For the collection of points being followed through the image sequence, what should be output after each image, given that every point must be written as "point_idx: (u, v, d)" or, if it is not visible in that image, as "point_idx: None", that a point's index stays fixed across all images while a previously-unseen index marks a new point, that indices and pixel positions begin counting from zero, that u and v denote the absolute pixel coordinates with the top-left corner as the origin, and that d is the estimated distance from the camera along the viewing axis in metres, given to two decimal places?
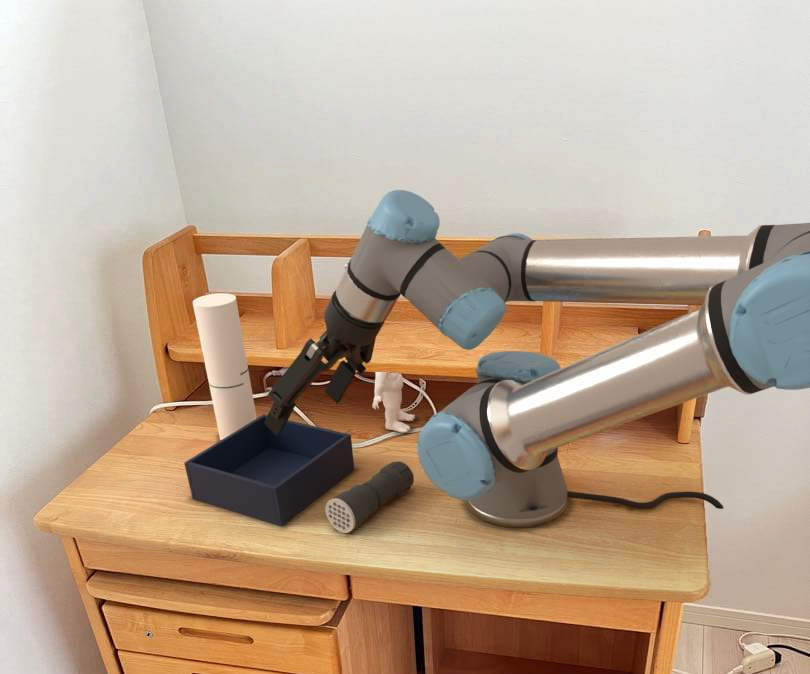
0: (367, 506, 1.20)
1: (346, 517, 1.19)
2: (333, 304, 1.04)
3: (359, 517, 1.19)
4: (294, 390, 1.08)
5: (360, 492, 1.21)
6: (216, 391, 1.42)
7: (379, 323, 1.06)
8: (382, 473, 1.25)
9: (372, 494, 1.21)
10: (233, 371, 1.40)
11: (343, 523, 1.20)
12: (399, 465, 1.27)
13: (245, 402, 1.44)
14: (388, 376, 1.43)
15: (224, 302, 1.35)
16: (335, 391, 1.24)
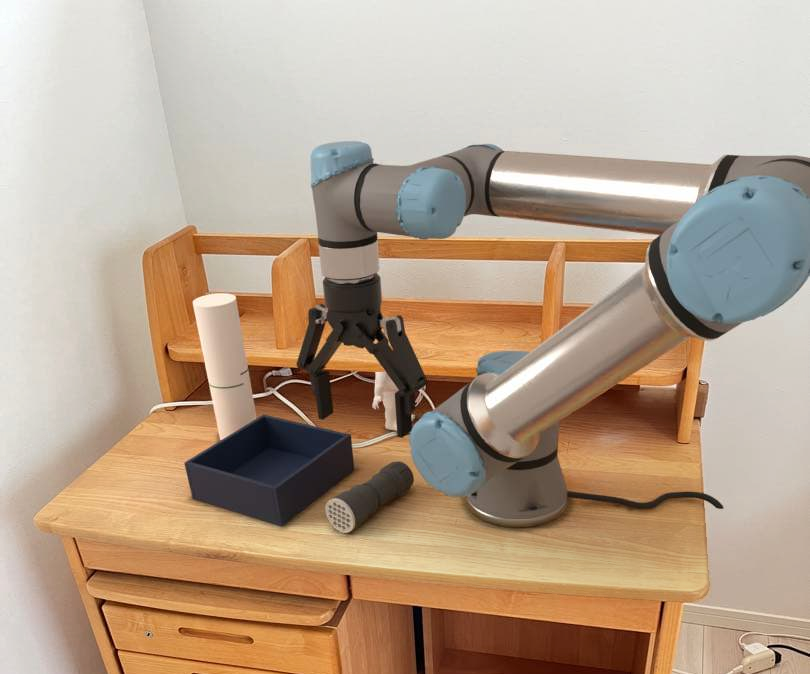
0: (367, 506, 1.20)
1: (346, 517, 1.19)
2: None
3: (359, 517, 1.19)
4: (303, 350, 1.15)
5: (360, 492, 1.21)
6: (216, 391, 1.42)
7: (338, 285, 1.04)
8: (382, 473, 1.25)
9: (372, 494, 1.21)
10: (233, 371, 1.40)
11: (343, 523, 1.20)
12: (399, 465, 1.27)
13: (245, 402, 1.44)
14: (388, 376, 1.43)
15: (224, 302, 1.35)
16: None
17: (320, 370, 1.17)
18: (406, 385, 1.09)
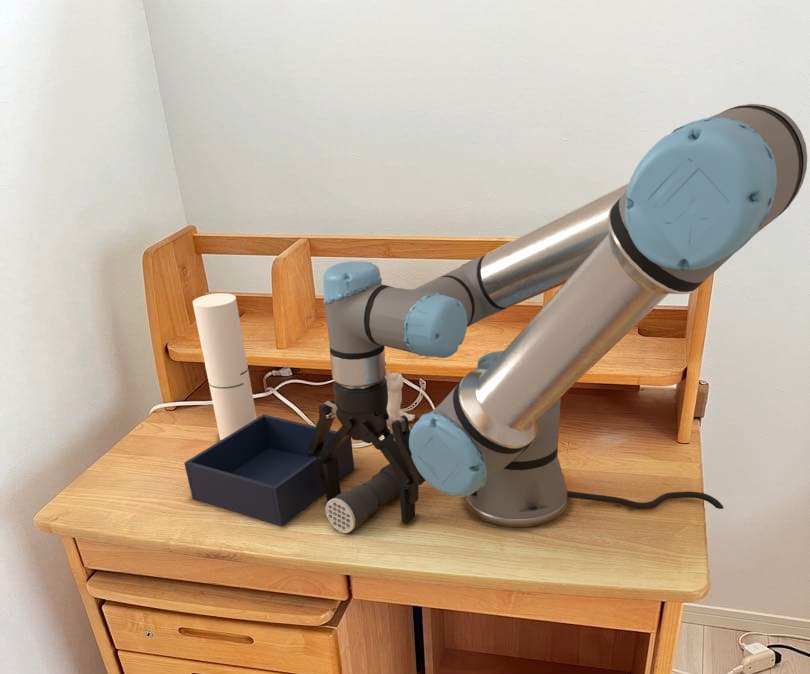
0: (367, 506, 1.20)
1: (346, 517, 1.19)
2: None
3: (359, 517, 1.19)
4: (313, 440, 1.23)
5: (360, 492, 1.21)
6: (216, 391, 1.42)
7: (347, 390, 1.12)
8: (382, 473, 1.25)
9: (372, 494, 1.21)
10: (233, 371, 1.40)
11: (343, 523, 1.20)
12: None
13: (245, 402, 1.44)
14: (388, 376, 1.43)
15: (224, 302, 1.35)
16: None
17: (329, 457, 1.25)
18: (410, 478, 1.17)
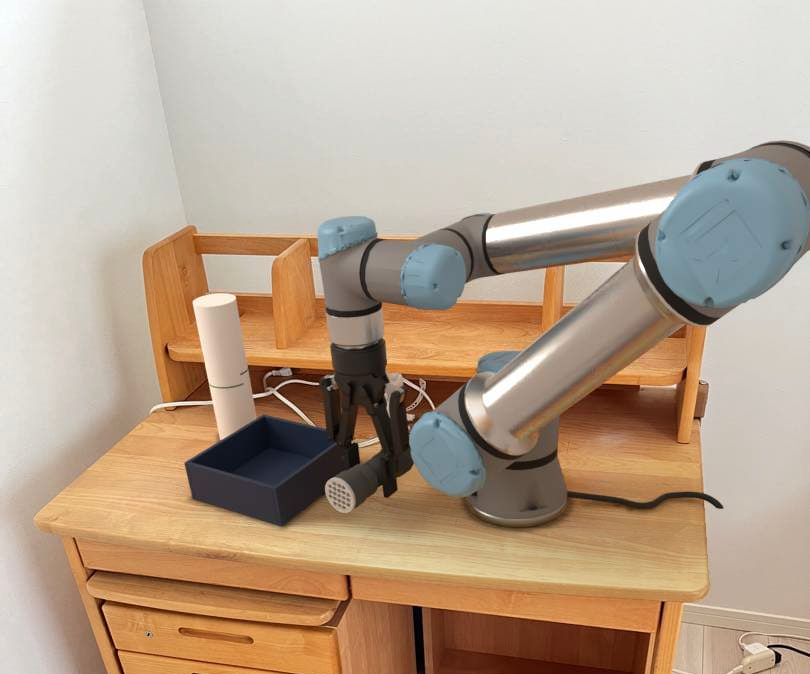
0: (368, 485, 1.18)
1: (346, 496, 1.16)
2: None
3: (359, 496, 1.17)
4: (327, 422, 1.20)
5: (360, 471, 1.18)
6: (216, 391, 1.42)
7: (345, 350, 1.08)
8: (382, 453, 1.23)
9: (372, 473, 1.19)
10: (233, 371, 1.40)
11: (343, 503, 1.18)
12: None
13: (245, 402, 1.44)
14: (388, 376, 1.43)
15: (224, 302, 1.35)
16: None
17: (350, 441, 1.21)
18: (390, 450, 1.16)
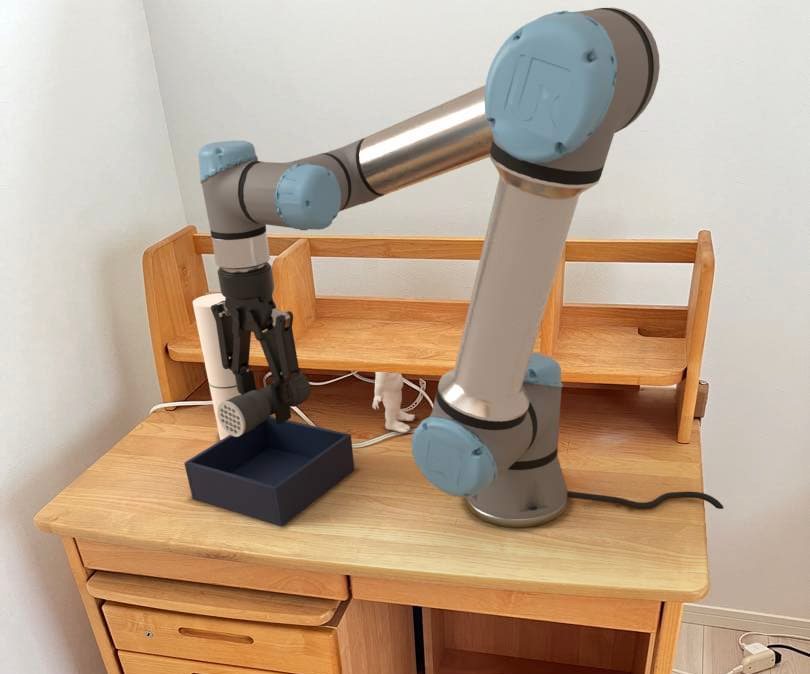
0: (259, 410, 1.22)
1: (236, 419, 1.20)
2: None
3: (250, 420, 1.21)
4: (222, 349, 1.23)
5: (252, 396, 1.22)
6: (216, 391, 1.42)
7: (229, 273, 1.12)
8: None
9: (264, 399, 1.23)
10: None
11: (235, 426, 1.22)
12: None
13: None
14: (388, 376, 1.43)
15: None
16: None
17: (244, 368, 1.25)
18: (280, 376, 1.20)
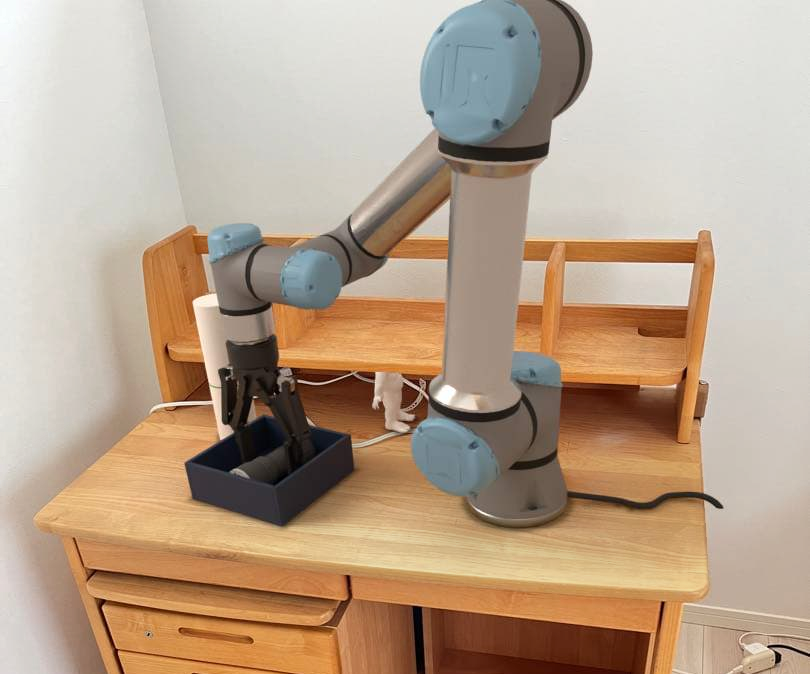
0: (267, 476, 1.28)
1: None
2: None
3: None
4: (223, 407, 1.30)
5: (260, 463, 1.29)
6: (216, 391, 1.42)
7: (237, 346, 1.18)
8: None
9: (272, 465, 1.29)
10: None
11: None
12: None
13: None
14: (388, 376, 1.43)
15: None
16: None
17: (243, 425, 1.32)
18: (292, 437, 1.25)
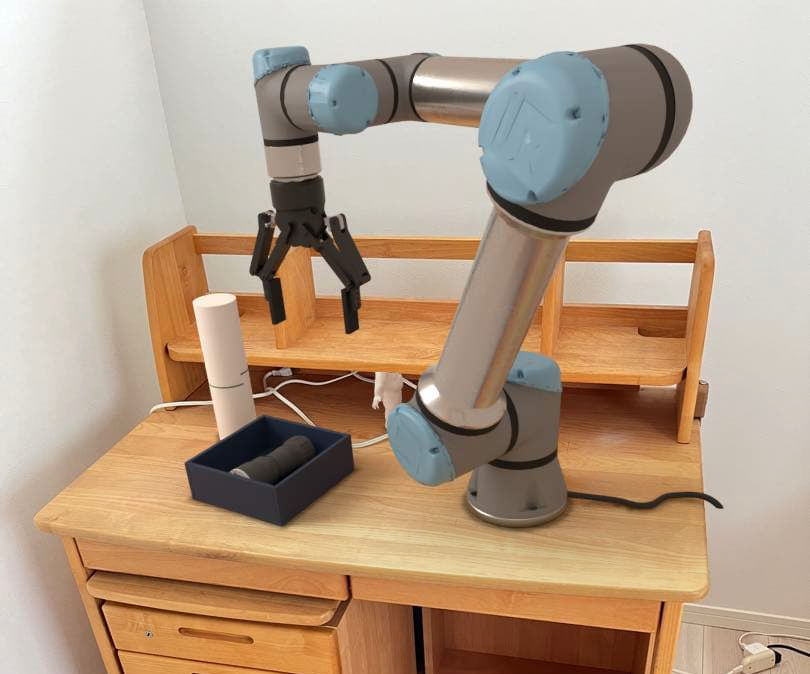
0: (267, 476, 1.28)
1: None
2: None
3: None
4: (254, 256, 1.23)
5: (260, 463, 1.29)
6: (216, 391, 1.42)
7: (283, 183, 1.11)
8: (284, 446, 1.34)
9: (272, 465, 1.29)
10: (233, 371, 1.40)
11: None
12: (300, 439, 1.35)
13: (245, 402, 1.44)
14: (388, 376, 1.43)
15: (224, 302, 1.35)
16: None
17: (272, 276, 1.25)
18: (351, 281, 1.17)
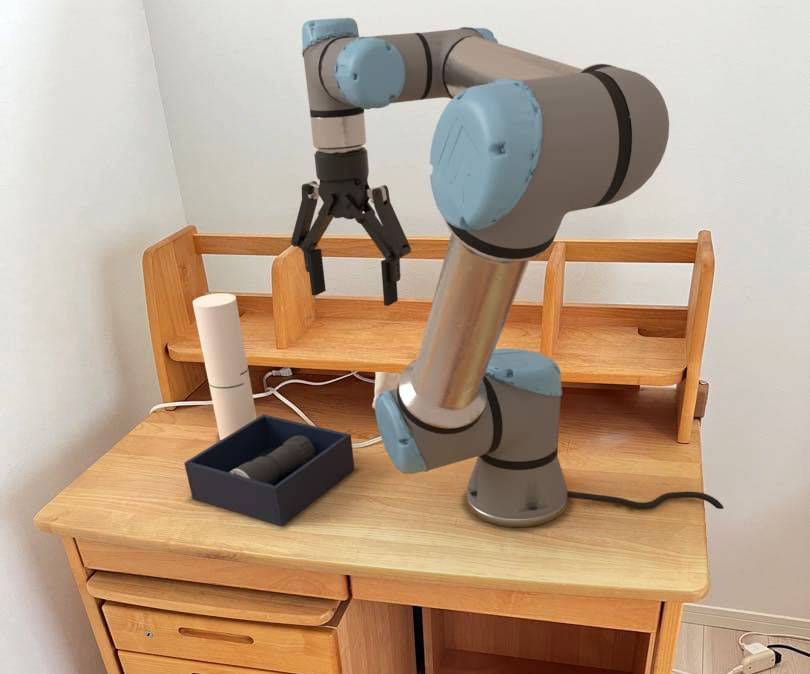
0: (267, 476, 1.28)
1: None
2: None
3: None
4: (297, 227, 1.25)
5: (260, 463, 1.29)
6: (216, 391, 1.42)
7: (328, 154, 1.13)
8: (284, 446, 1.34)
9: (272, 465, 1.29)
10: (233, 371, 1.40)
11: None
12: (300, 439, 1.35)
13: (245, 402, 1.44)
14: (388, 376, 1.43)
15: (224, 302, 1.35)
16: None
17: (313, 247, 1.27)
18: (391, 252, 1.19)
